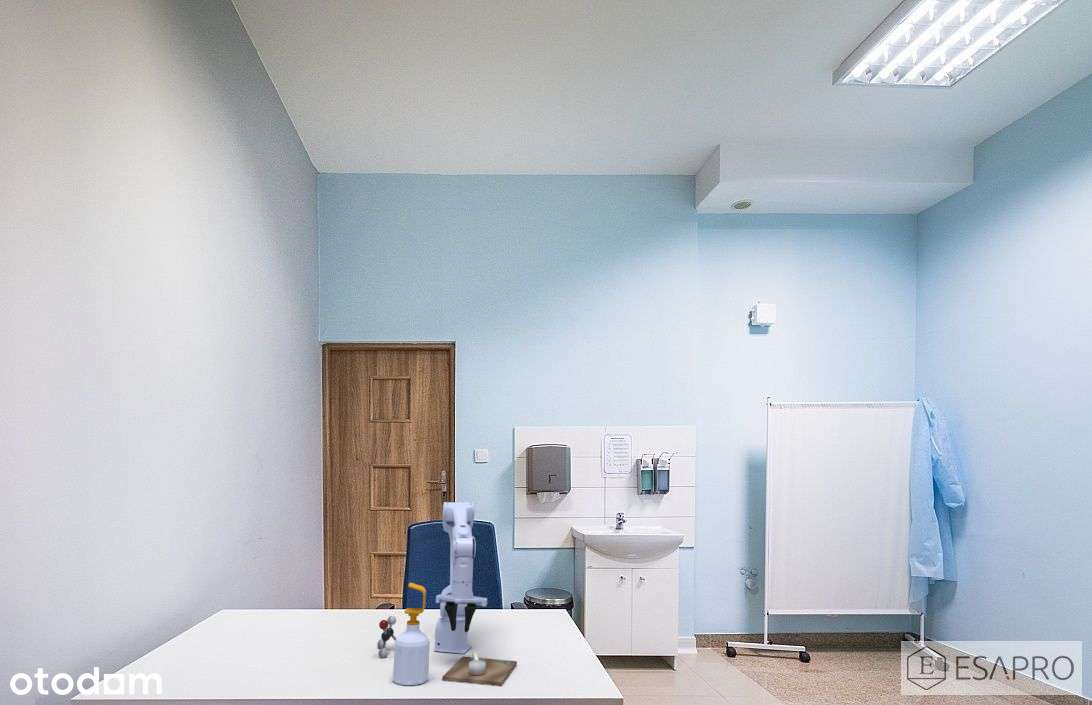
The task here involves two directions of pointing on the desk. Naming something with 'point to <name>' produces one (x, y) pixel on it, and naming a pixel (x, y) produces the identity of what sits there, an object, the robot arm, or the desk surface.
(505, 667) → the dial board
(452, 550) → the robot arm
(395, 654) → the soap bottle
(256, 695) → the desk surface
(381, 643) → the molecular model
